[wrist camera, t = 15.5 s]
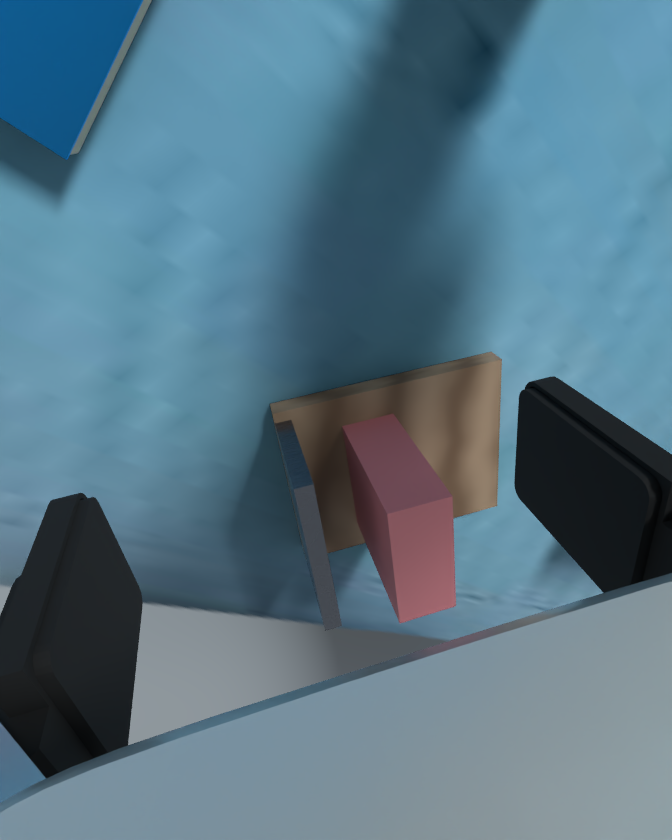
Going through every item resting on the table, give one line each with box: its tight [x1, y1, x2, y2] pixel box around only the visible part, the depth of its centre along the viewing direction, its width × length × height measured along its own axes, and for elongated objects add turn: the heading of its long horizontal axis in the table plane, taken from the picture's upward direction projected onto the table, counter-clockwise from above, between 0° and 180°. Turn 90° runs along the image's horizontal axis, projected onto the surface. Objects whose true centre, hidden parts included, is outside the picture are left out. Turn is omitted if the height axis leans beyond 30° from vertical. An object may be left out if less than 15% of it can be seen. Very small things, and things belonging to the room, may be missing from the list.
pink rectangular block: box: [342, 414, 456, 623], centre depth 46 cm, size 5×12×13 cm, turn 8°
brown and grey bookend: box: [270, 352, 502, 630], centre depth 48 cm, size 22×18×12 cm
